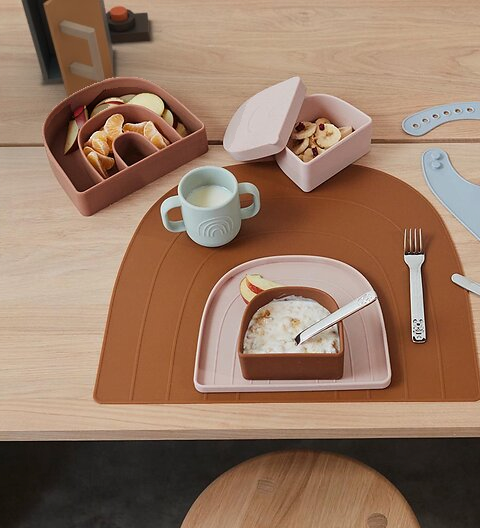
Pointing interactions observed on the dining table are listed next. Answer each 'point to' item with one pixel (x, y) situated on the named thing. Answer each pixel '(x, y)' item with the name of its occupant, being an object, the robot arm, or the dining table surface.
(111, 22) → the control block
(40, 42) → the cupboard
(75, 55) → the cupboard door
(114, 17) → the button
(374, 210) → the dining table surface
